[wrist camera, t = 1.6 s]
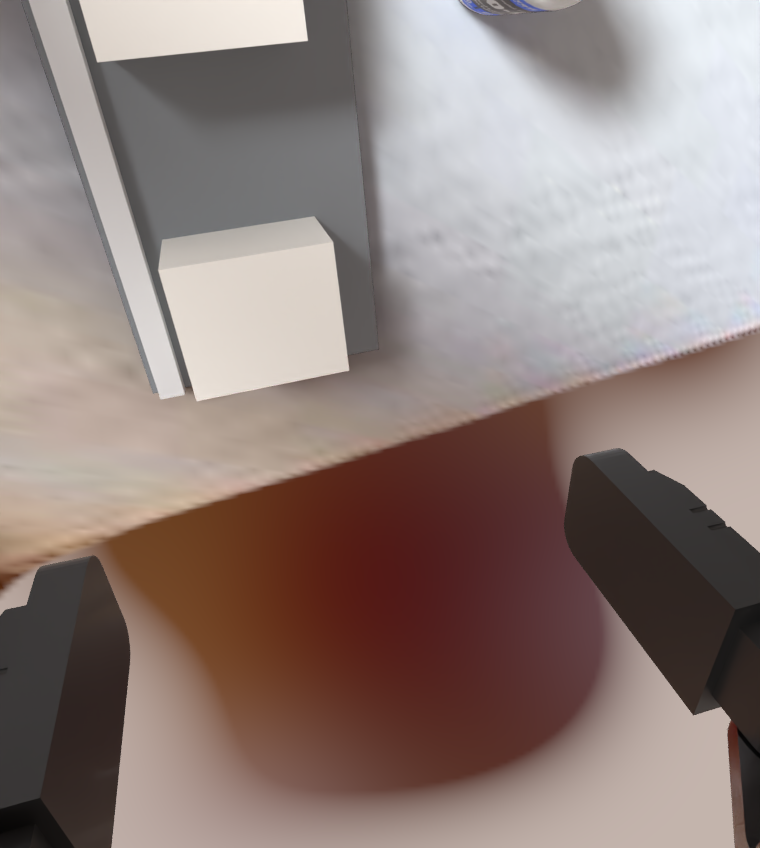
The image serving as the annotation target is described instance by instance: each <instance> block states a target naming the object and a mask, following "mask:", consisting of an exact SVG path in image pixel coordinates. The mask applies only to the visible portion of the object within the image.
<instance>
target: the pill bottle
mask: <svg viewBox="0 0 760 848" xmlns="http://www.w3.org/2000/svg"><path fill="white" fill-rule="evenodd" d="M580 1H582V0H460V2H461V3H462V4H463V5H465V6H466V7H467V8H469V9H470V10H472V11H474V12H477V13H479V14H483V15H505V14H520V13H530V12H544V11H556V10H561V9H564V8H568V7H570V6H573V5H575V4H577V3H579V2H580Z"/></svg>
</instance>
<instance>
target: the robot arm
mask: <svg viewBox="0 0 760 848" xmlns="http://www.w3.org/2000/svg"><path fill="white" fill-rule="evenodd" d="M564 529H565V535H566V539H567V543H568V545H569V548H570V549H571V552H572V554H573V555H574V556H575V558H576V559H577V561H578V562H579V563H580V565H581V566H582V567H583V569H584V570H585V571H586V573H587V574H588V575H589V577H590V578H591V579H592V581H593V582H594V583H595V585H596V586H597V587H598V589H599V590H600V591H601V593H602V594H603V595H604V597H605V598H606V599H607V601H608V602H609V603H610V604H611V606H612V607H613V609H614V610H615V611H616V613H617V614H618V615H619V617H620V618H621V619H622V621H623V622H624V623H625V624H626V626H627V627H628V629H629V630H630V631H631V633H632V634H633V635H634V637H635V638H636V639H637V641H638V642H639V643H640V645H641V646H642V647H643V649H644V650H645V651H646V653H647V654H648V655H649V657H650V658H651V659H652V661H653V662H654V663H655V665H656V666H657V667H658V669H659V670H660V671H661V673H662V674H663V675H664V677H665V678H666V679H667V681H668V682H669V683H670V685H671V686H672V687H673V689H674V690H675V691H676V693H677V694H678V695H679V697H680V698H681V699H682V701H683V702H684V703H685V705H686V706H687V707H688V709H689V710H690V711H691V713H692V714H693V715H696V714H699V713H702V712H705V711H709V710H712V709H715V708H719V707H722V709H723V710H724V711H725V712H726V714H727V715H728V716H729V717H730V719H731V721H730V723H729V727H728V735H727V736H728V749H729V750H728V752H729V766H730V782H731V797H732V811H733V812H732V813H733V828H734V843H735V848H760V553H759V552H758V551H757V550H756V549H755V548H754V547H752V546H751V545H750V544H749V543H748V542H747V541H746V540H745V539H744V538H742V537H741V536H740V535H739V534H738V533H737V532H736V531H735V530H734V529H732V528H731V527H727V526H726V525H725V521H723V520H722V519H721V518H720V517H719V516H718V515H717V514H716V513H714V512H713V511H712V510H707V508H706V505H705V504H704V503H703V502H702V501H701V500H700V499H699V498H698V497H696V496H695V495H694V494H693V493H692V492H691V491H690V490H689V489H688V488H686V487H685V486H684V485H682V484H680V483H678V482H676V481H674V480H673V479H671V478H669V477H666V476H665V475H662V474H660V473H658V472H657V471H655V470H652V471H647V470H646V469H645V468H644V467H643V466H642V465H641V464H640V463H639V462H637V461H636V460H635V459H634V458H633V457H632V456H631V455H630V454H629V453H628V452H626V451H625V450H623V449H620V448H618V449H612V450H607V451H602V452H597V453H592V454H587V455H583V456H579V457H578V458H576V460H575V461H574V464H573V468H572V474H571V481H570V487H569V494H568V500H567V507H566V513H565V520H564ZM129 666H130V644H129V636H128V630H127V626H126V623H125V620H124V617H123V615H122V613H121V610H120V608H119V605H118V603H117V601H116V598H115V596H114V593H113V591H112V588H111V586H110V584H109V581H108V579H107V576H106V574H105V572H104V569H103V567H102V565H101V563H100V561H99V559H98V558H97V557H96V556H89V557H83V558H79V559H74V560H69V561H65V562H59V563H55V564H50V565H45V566H42V567H40V568H39V569H38V571H37V572H36V575H35V578H34V582H33V585H32V588H31V592H30V595H29V598H28V602H27V605H26V606H21V607H16V608H11V609H7V610H5V611H4V612H3V613H2V614H1V616H0V848H111V844H112V834H113V825H114V815H115V805H116V795H117V785H118V775H119V765H120V755H121V745H122V736H123V726H124V715H125V705H126V695H127V686H128V675H129Z"/></svg>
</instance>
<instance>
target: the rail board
mask: <svg viewBox="0 0 760 848" xmlns="http://www.w3.org/2000/svg"><path fill="white" fill-rule="evenodd" d="M21 2H22V5H23V8H24V11H25V14H26V17H27V20H28V23H29V26H30V29H31V32H32V35H33V38H34V41H35V44H36V47H37V50H38V53H39V56H40V59H41V62H42V65H43V68H44V71H45V74H46V76H47V79H48V82H49V85H50V88H51V91H52V94H53V97H54V100H55V103H56V106H57V109H58V112H59V115H60V118H61V121H62V124H63V127H64V130H65V133H66V136H67V139H68V142H69V145H70V148H71V151H72V154H73V157H74V160H75V163H76V166H77V169H78V172H79V175H80V178H81V180H82V183H83V186H84V189H85V192H86V195H87V198H88V201H89V204H90V207H91V210H92V213H93V216H94V219H95V222H96V225H97V228H98V231H99V234H100V237H101V240H102V243H103V246H104V249H105V252H106V255H107V258H108V261H109V264H110V267H111V270H112V273H113V276H114V279H115V282H116V284H117V287H118V290H119V293H120V296H121V299H122V302H123V305H124V308H125V311H126V314H127V317H128V320H129V323H130V326H131V329H132V332H133V335H134V338H135V341H136V344H137V347H138V350H139V353H140V356H141V359H142V362H143V365H144V368H145V371H146V374H147V377H148V380H149V383H150V386H151V388H152V391H153V394H154V393H159V396H160V399H166V398H171V397H176V396H181V395H185V387H189V386H192V387H193V391H194V394H195V398H196V401H201V400H206V399H210V398H215V397H220V396H225V395H230V394H235V393H240V392H245V391H250V390H255V389H260V388H265V387H270V386H275V385H280V384H285V383H290V382H295V381H300V380H305V379H310V378H315V377H320V376H325V375H330V374H335V373H340V372H345V371H349V364H348V356H347V355H352V354H357V353H362V352H367V351H372V350H378V349H379V347H378V336H377V325H376V314H375V304H374V293H373V282H372V271H371V261H370V250H369V239H368V228H367V218H366V207H365V196H364V185H363V175H362V164H361V153H360V142H359V131H358V121H357V110H356V99H355V88H354V78H353V67H352V56H351V45H350V35H349V24H348V13H347V2H346V0H21Z"/></svg>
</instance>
